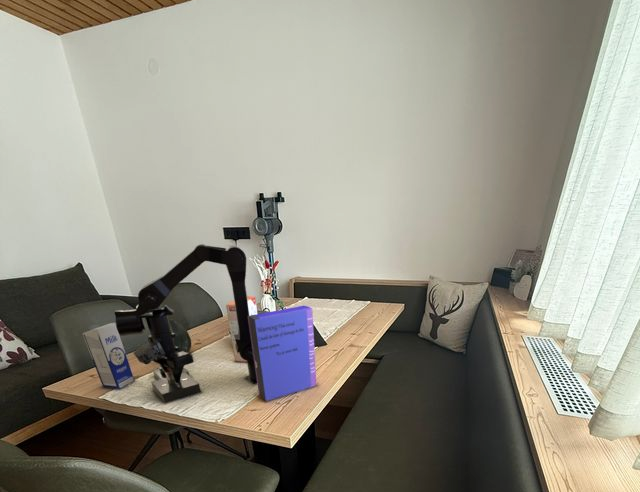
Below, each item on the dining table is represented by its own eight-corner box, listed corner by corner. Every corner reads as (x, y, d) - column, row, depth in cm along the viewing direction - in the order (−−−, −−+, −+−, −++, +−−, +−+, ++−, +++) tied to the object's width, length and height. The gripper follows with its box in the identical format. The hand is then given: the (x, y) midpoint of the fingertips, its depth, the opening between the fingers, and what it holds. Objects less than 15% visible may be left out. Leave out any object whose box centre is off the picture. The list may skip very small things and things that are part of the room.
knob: (182, 381, 110) (179, 369, 108) (172, 385, 108) (168, 372, 106) (177, 379, 113) (173, 366, 110) (166, 382, 110) (162, 370, 108)
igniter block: (190, 377, 121) (187, 366, 119) (162, 385, 116) (159, 373, 114) (180, 369, 128) (177, 358, 126) (154, 376, 123) (151, 365, 121)
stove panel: (201, 392, 111) (198, 383, 109) (164, 403, 105) (162, 393, 103) (187, 380, 119) (185, 371, 117) (153, 390, 113) (150, 381, 112)
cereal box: (308, 380, 115) (303, 304, 103) (316, 385, 112) (312, 307, 100) (259, 395, 107) (247, 315, 95) (266, 401, 104) (254, 318, 91)
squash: (142, 341, 140) (143, 316, 128) (180, 334, 149) (184, 310, 137) (157, 371, 138) (160, 348, 126) (194, 362, 146) (200, 340, 134)
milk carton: (119, 389, 115) (96, 328, 104) (102, 387, 116) (79, 327, 106) (135, 380, 120) (115, 321, 110) (119, 379, 122) (98, 320, 112)
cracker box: (249, 362, 131) (240, 304, 120) (234, 362, 132) (224, 304, 122) (263, 349, 143) (256, 295, 132) (248, 349, 144) (240, 295, 133)
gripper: (117, 333, 102) (134, 382, 110) (150, 344, 92) (166, 398, 100) (154, 324, 110) (167, 371, 117) (188, 333, 99) (200, 384, 107)
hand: (174, 381), depth 110 cm, fingers closed on knob, 4 cm apart
